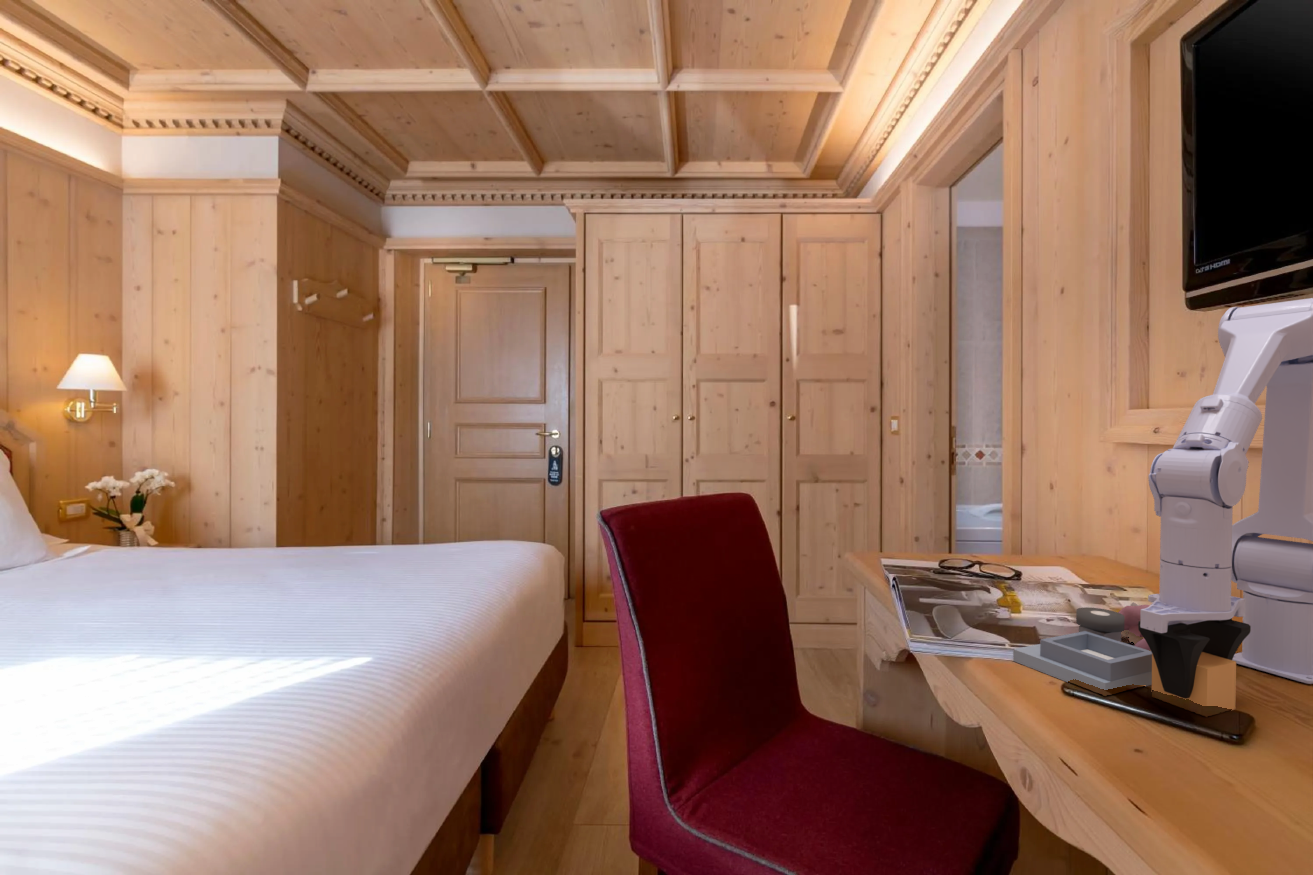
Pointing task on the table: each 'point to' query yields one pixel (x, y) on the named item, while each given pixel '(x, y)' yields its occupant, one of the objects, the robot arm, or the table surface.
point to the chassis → (1089, 659)
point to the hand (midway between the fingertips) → (1192, 689)
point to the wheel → (1100, 619)
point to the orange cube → (1208, 681)
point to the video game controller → (1134, 622)
